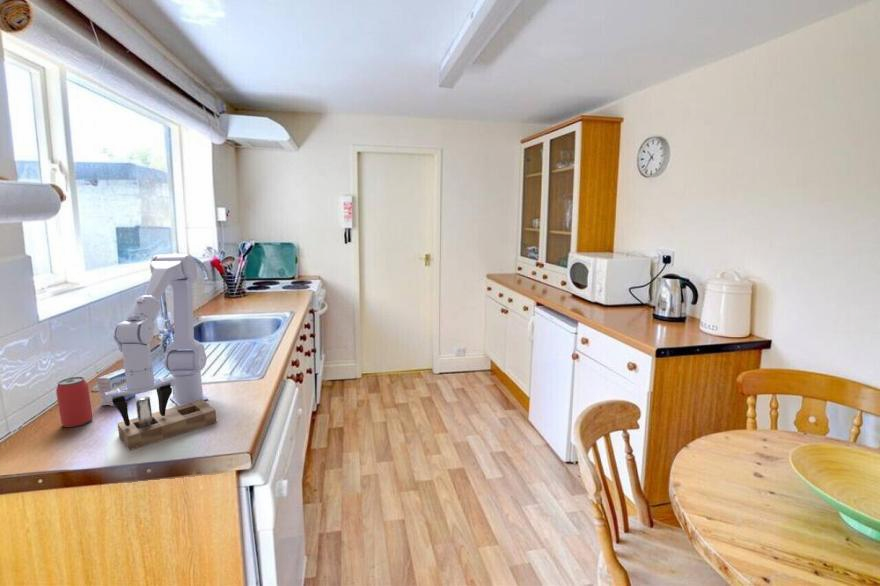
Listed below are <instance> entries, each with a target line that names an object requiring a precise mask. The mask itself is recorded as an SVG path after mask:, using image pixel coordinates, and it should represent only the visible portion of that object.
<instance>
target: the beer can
mask: <svg viewBox="0 0 880 586" xmlns="http://www.w3.org/2000/svg"><path fill="white" fill-rule="evenodd" d="M55 393H56V398H57V405H58V411H59V412H58V413H59V416H60V417H59V418H60V422H61V425H62V426H63V427H65V428H74V427H73V426H76V427H79V425H80V426H83V425H85V423H86V424H87V422H88V423H89V422H91V421H92V420H93V418H94V417H93V409H92V403H91V402H92V401H91V398H90V396H91V395H90V390H89V385H88V382H87V381H86V379H85V377H84V376H72V377H68V378H63V379H61V380H59V381H58V382H57V387H56V392H55ZM82 424H83V425H82Z"/></svg>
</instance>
